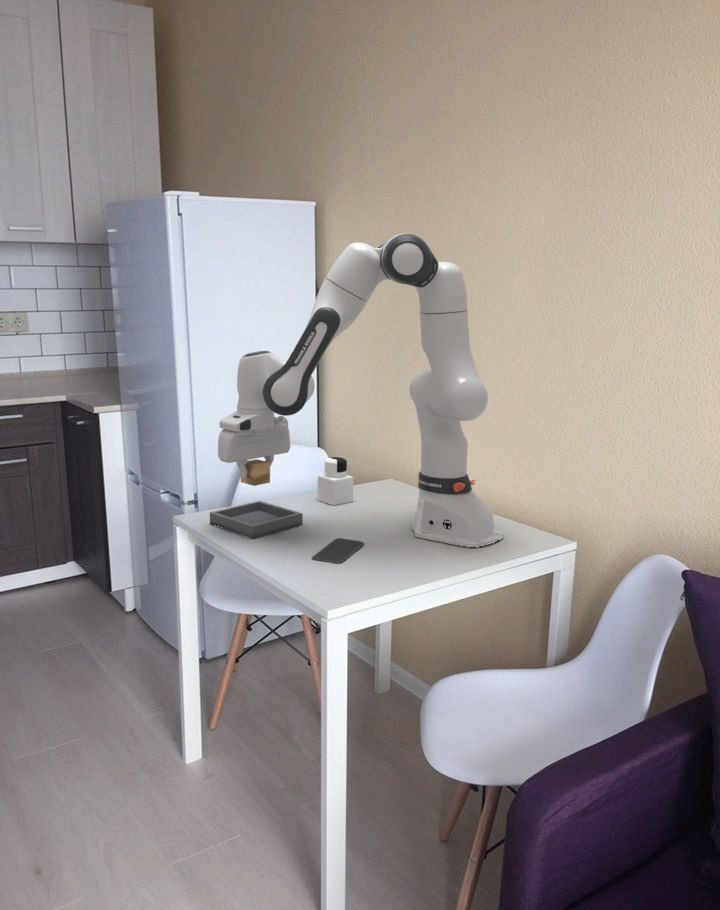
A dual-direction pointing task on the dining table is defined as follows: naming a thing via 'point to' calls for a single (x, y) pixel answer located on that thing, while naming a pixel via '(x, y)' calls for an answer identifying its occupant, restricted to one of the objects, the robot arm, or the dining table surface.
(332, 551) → the smartphone
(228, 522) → the sorting tray
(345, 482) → the medicine bottle
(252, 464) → the oversize block
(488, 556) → the dining table surface
